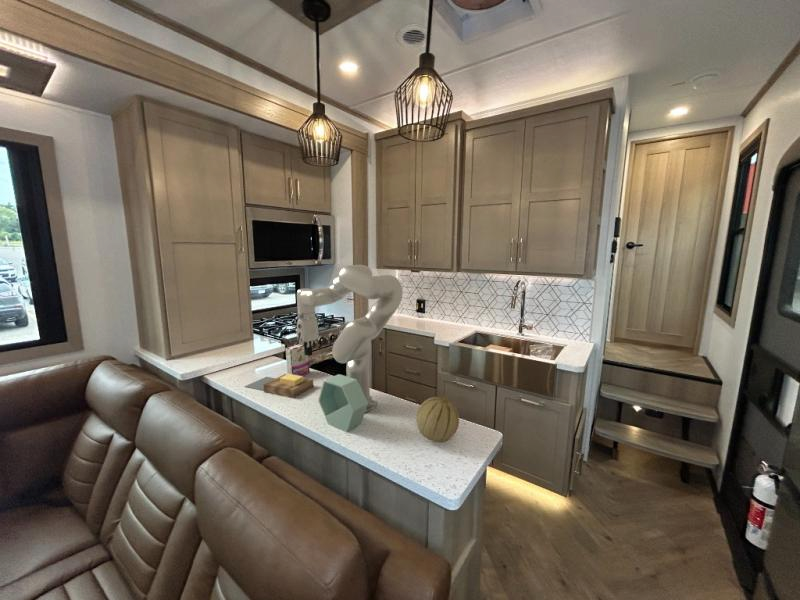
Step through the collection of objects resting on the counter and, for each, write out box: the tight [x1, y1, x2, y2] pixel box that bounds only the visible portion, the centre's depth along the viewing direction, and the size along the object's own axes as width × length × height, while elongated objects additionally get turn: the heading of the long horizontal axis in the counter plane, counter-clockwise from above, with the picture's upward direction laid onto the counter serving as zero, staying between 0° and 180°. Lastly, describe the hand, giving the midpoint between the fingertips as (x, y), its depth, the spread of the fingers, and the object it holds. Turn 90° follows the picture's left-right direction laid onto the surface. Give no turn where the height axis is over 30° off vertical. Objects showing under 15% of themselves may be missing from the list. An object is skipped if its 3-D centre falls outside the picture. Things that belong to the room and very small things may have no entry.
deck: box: [263, 373, 314, 399], centre depth 158 cm, size 18×14×4 cm
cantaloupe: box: [415, 396, 460, 443], centre depth 113 cm, size 15×15×15 cm
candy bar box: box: [285, 343, 310, 376], centre depth 176 cm, size 11×5×16 cm, turn 143°
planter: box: [317, 373, 368, 433], centre depth 124 cm, size 17×8×21 cm
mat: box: [244, 376, 277, 392], centre depth 165 cm, size 14×14×1 cm
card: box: [280, 373, 304, 386], centre depth 157 cm, size 9×6×2 cm, turn 66°
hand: (308, 354), depth 150 cm, fingers closed
